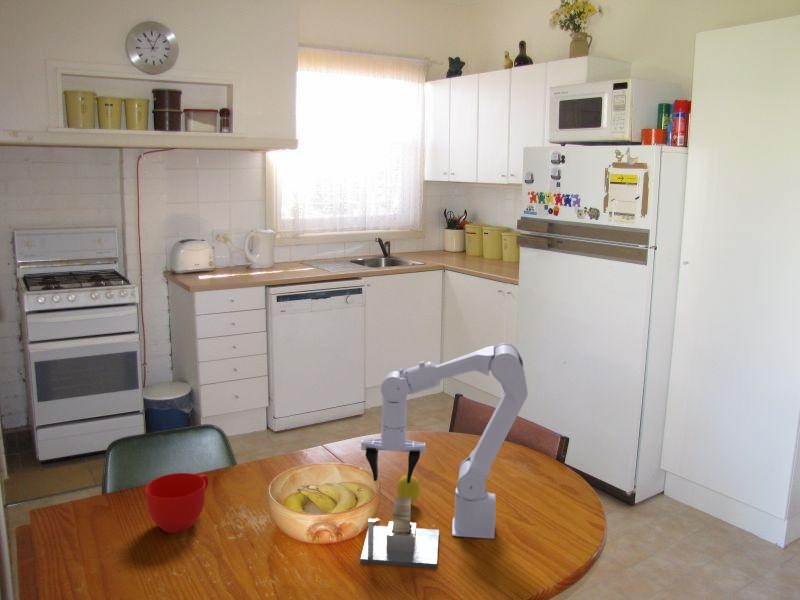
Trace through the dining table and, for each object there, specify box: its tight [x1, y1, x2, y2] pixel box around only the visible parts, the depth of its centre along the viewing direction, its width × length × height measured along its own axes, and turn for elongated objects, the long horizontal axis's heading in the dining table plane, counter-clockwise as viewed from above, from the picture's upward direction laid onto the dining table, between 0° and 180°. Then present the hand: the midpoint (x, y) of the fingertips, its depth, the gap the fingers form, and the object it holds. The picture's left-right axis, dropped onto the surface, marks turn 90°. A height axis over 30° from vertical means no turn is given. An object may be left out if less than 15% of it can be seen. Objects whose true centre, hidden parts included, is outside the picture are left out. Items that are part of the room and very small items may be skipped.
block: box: [392, 496, 412, 532], centre depth 153 cm, size 4×4×6 cm
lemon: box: [396, 473, 421, 504], centre depth 173 cm, size 6×6×8 cm
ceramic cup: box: [144, 472, 209, 534], centre depth 162 cm, size 13×17×10 cm
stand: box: [359, 517, 440, 569], centre depth 153 cm, size 16×14×9 cm
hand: (392, 480), depth 163 cm, fingers open, 7 cm apart
